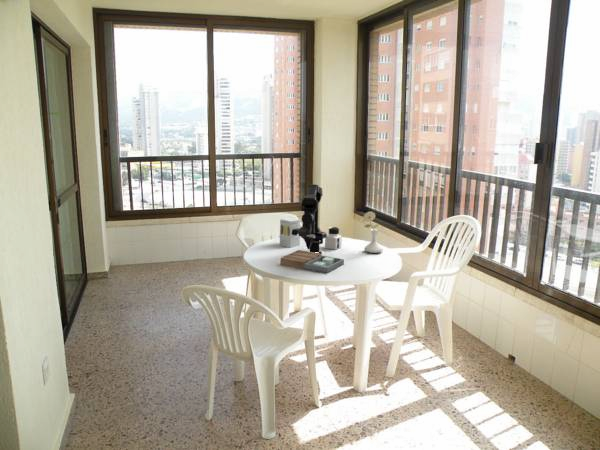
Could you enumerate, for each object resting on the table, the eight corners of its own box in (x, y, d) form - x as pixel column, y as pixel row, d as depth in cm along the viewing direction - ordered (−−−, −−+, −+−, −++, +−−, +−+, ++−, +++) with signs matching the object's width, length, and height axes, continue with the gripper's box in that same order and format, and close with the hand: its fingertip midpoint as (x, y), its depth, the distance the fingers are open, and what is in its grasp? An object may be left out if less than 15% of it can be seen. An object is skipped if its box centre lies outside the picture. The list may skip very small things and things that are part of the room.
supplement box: (279, 245, 331) (279, 218, 327) (289, 242, 338) (289, 216, 334) (290, 247, 325) (290, 221, 321) (300, 245, 332) (300, 219, 328)
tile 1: (325, 262, 283) (325, 267, 283) (317, 261, 285) (317, 265, 286) (321, 265, 279) (321, 269, 279) (313, 263, 281) (312, 268, 281)
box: (321, 260, 298) (321, 255, 298) (343, 264, 292) (344, 259, 291) (304, 269, 281) (304, 263, 281) (327, 273, 275) (327, 268, 274)
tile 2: (334, 258, 292) (334, 262, 292) (326, 257, 294) (326, 261, 295) (330, 260, 288) (330, 264, 288) (322, 259, 290) (322, 263, 291)
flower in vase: (382, 249, 324) (384, 210, 319) (383, 254, 313) (385, 213, 308) (361, 249, 325) (363, 209, 320) (361, 253, 314) (363, 212, 309)
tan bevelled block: (298, 256, 306) (298, 249, 305) (321, 260, 298) (321, 253, 297) (280, 264, 289) (280, 257, 288) (304, 269, 281) (304, 262, 280)
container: (341, 247, 328) (342, 227, 325) (335, 250, 321) (336, 229, 318) (330, 245, 332) (331, 225, 329) (324, 248, 325) (325, 227, 322)
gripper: (286, 221, 277) (286, 249, 280) (317, 225, 268) (316, 254, 271) (297, 217, 287) (296, 245, 290) (327, 221, 278) (326, 250, 281)
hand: (308, 249), depth 283 cm, fingers closed
